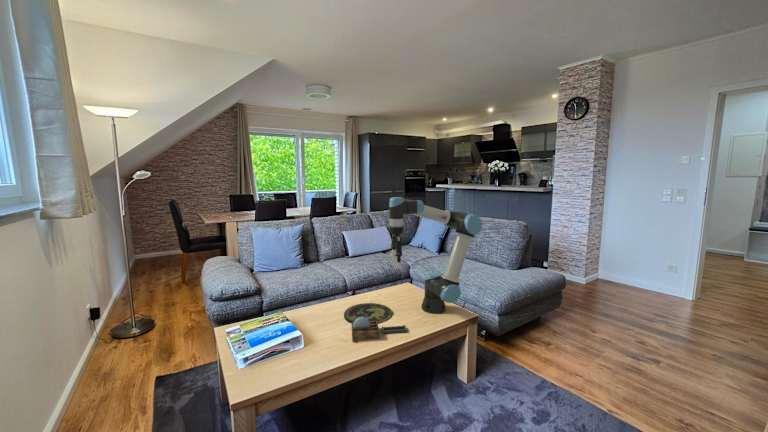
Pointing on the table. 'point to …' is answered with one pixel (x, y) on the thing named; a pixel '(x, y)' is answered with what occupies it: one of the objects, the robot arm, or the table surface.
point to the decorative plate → (368, 312)
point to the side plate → (361, 323)
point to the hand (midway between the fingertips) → (396, 264)
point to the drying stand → (394, 329)
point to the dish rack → (366, 332)
